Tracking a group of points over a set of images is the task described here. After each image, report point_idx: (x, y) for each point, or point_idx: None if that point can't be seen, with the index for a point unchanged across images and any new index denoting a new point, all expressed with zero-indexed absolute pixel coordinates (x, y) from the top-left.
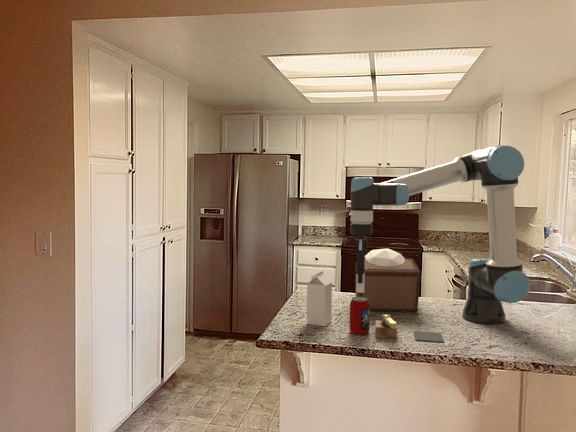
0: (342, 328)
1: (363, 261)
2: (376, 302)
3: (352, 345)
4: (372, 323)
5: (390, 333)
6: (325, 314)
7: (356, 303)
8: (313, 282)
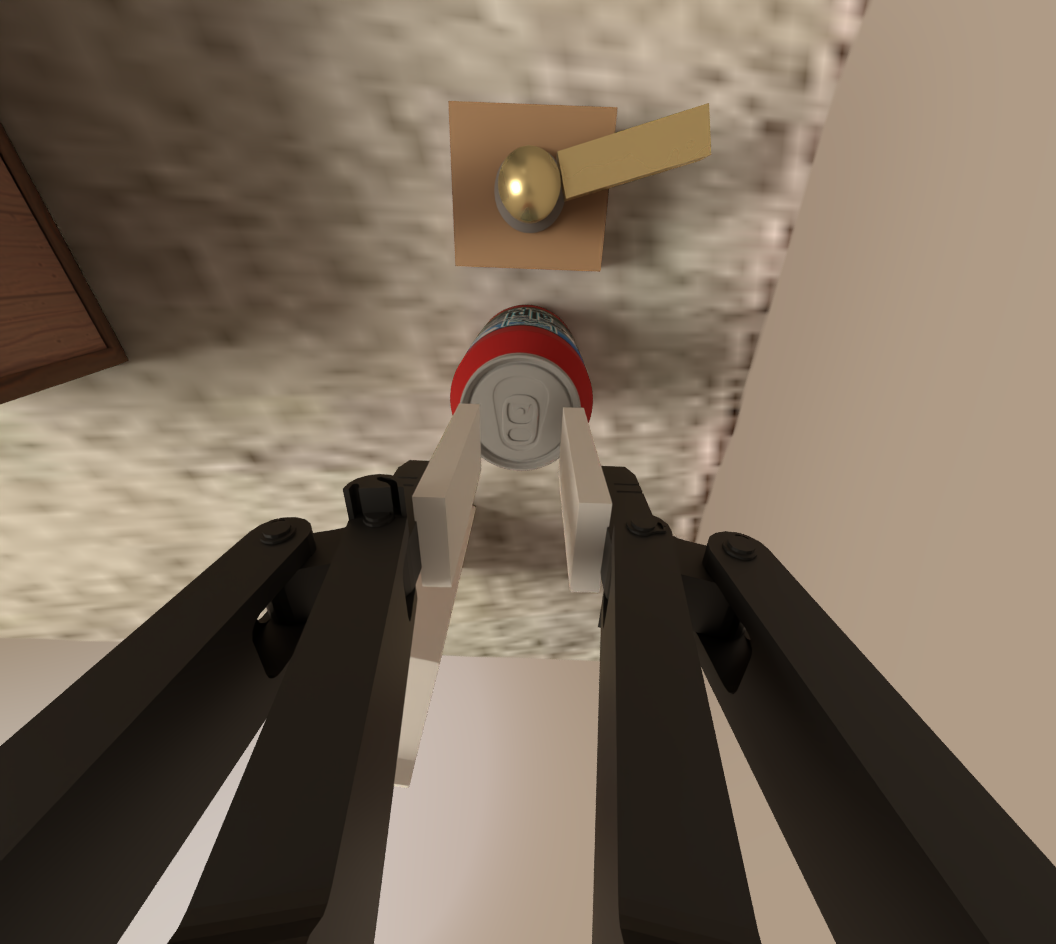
0: None
1: (915, 724)
2: (13, 247)
3: (713, 385)
4: (344, 280)
5: None
6: None
7: None
8: None
